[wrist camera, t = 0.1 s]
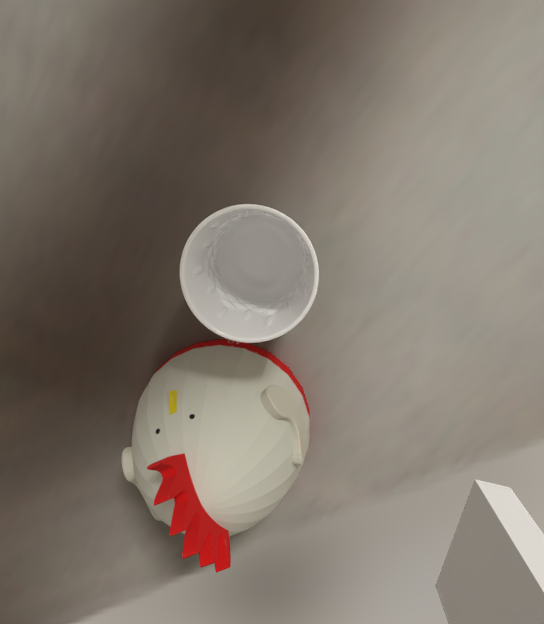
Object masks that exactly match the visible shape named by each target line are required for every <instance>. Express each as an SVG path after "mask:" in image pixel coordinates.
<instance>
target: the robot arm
mask: <svg viewBox="0 0 544 624" xmlns="http://www.w3.org/2000/svg"><path fill="white" fill-rule="evenodd" d="M436 588H437V591H438V594H439V597H440V600H441V603H442V606H443V609H444V611H445V614H446V617H447V620H448V623H449V624H544V534H543V533H542V531H541V530H540V529H539V527H538V526H537V524H536V523H535V522H534V520H533V519H532V517H531V516H530V515H529V513H528V512H527V510H526V509H525V508H524V506H523V505H522V503H521V502H520V501H519V500H518V498H517V496H516V495H515V494H514V492H513V491H512V490H511V488H510V487H505V486H501V485H497V484H492V483H488V482H484V481H479V480H474V483H473V485H472V488H471V491H470V494H469V496H468V499H467V502H466V504H465V507H464V510H463V513H462V515H461V518H460V521H459V524H458V526H457V529H456V532H455V534H454V537H453V540H452V542H451V545H450V548H449V551H448V553H447V556H446V559H445V561H444V564H443V567H442V570H441V572H440V575H439V578H438V580H437V584H436Z"/></svg>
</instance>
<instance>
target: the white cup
mask: <svg viewBox="0 0 544 624" xmlns="http://www.w3.org/2000/svg"><path fill="white" fill-rule="evenodd" d="M180 283H181V288H182V292H183V295H184V298H185V300H186V302H187V304H188V306H189V308H190V309H191V311H192V312H193V314H194V315H195V316H196V318H197V319H198V320H199V321H200V322H201V323H202V324H203V325H204V326H205V327H207V328H208V329H209V330H211V331H212V332H214V333H216V334H217V335H219V336H222V337H224V338H226V339H229V340H233V341H237V342H244V343H257V342H264V341H268V340H272V339H275V338H277V337H280V336H282V335H284V334H285V333H287V332H289V331H290V330H291V329H293V328H294V327H295V326H296V325H297V324H298V323H299V322H300V321H301V320H302V319H303V318H304V317H305V315H306V314H307V313H308V311H309V309H310V308H311V306H312V304H313V302H314V299H315V296H316V293H317V289H318V283H319V267H318V261H317V257H316V253H315V250H314V248H313V246H312V244H311V242H310V240H309V238H308V237H307V235H306V234H305V232H304V231H303V230H302V229H301V227H300V226H299V225H298V224H297V223H296V222H295V221H293V220H292V219H291V218H290V217H288V216H287V215H285V214H284V213H282V212H280V211H277V210H275V209H272V208H269V207H266V206H262V205H255V204H241V205H234V206H230V207H227V208H224V209H221V210H219V211H217V212H215V213H213V214H212V215H210V216H208V217H207V218H206V219H205V220H203V221H202V222H201V223H200V224H199V225H198V226H197V227H196V228H195V230H194V231H193V232H192V234H191V235H190V237H189V238H188V240H187V242H186V244H185V247H184V249H183V252H182V256H181V261H180Z"/></svg>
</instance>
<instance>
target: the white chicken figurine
mask: <svg viewBox="0 0 544 624" xmlns="http://www.w3.org/2000/svg"><path fill="white" fill-rule="evenodd" d="M309 441H310V427H309V407H308V404H307V401H306V398H305V395H304V391H303V388H302V386H301V385H300V383H299V382H298V381H297V379H296V378H295V376H294V375H293V373H292V372H291V370H290V369H289V368H288V367H287V366H286V365H285V364H283V363H282V362H281V361H280V360H279V359H277V358H276V357H275V356H274V355H272V354H271V353H270V352H268V351H266V350H263V349H261V348H259V347H256V346H254V345H252V344H249V343H244V342H237V341H233V340H225V339H219V340H212V341H205V342H198V343H196V344H194V345H192V346H189V347H187V348H185V349H183V350H181V351H178V352H176V353H175V354H174V355H173V356H172V357H171V358H170V359H169V360H167V361H166V362H165V363H164V364H163V365H162V366H161V367H160V368H159V369H158V370H157V371H156V372H155V374H154V375H153V376H152V378H151V380H150V382H149V383H148V385H147V387H146V388H145V390H144V392H143V393H142V395H141V397H140V399H139V402H138V407H137V411H136V416H135V420H134V425H133V431H132V446H130V447H126V448H125V449H124V450H123V452H122V469H123V473H124V476H125V478H126V479H127V480H128V481H129V482H132V483H134V484H135V485H136V486H137V488H138V489H139V491H140V492H141V494H142V496H143V498H144V500H145V502H146V504H147V506H148V508H149V510H150V512H151V514H152V515H153V517H154V518H155V519H156V520H157V521H163V522H164V523H166V524H167V525H168V526H170V536H173V535H175V534H178V533H180V532H181V533H183V534H185V538H184V545H183V554H182V557H183V559H184V558H187V557H189V556H192V555H195V554H197V553H199V560H200V566H201V567H204V566H207V565H209V564H212V563H215V570H216V572H219V571H221V570H224V569H227V568H229V567H230V540H229V536H232V535H234V534H237V533H240V532H242V531H245V530H247V529H249V528H251V527H253V526H254V525H256V524H257V523H258V522H260V521H261V520H262V519H264V518H265V517H266V516H267V515H269V514H270V513H271V512H272V511H273V510H274V509H275V508H276V507H277V506H278V504H279V503H280V501H281V500H282V499H283V497H284V496H285V494H286V493H287V492H288V490H289V489H290V487H291V486H292V484H293V483H294V481H295V480H296V478H297V477H298V475H299V473H300V471H301V468H302V465H303V463H304V459H305V455H306V452H307V449H308V446H309Z"/></svg>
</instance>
